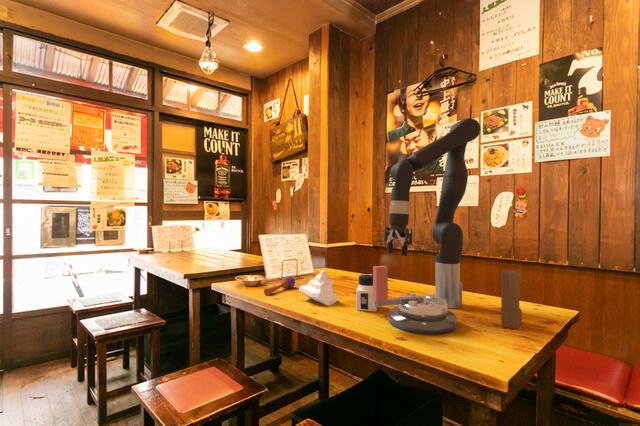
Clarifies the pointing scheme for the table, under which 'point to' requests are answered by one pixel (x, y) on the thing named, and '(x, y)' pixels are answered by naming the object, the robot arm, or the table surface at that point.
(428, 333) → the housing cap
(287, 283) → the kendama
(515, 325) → the wooden block
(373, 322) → the table surface
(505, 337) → the table surface
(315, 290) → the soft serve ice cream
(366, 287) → the container
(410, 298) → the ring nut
